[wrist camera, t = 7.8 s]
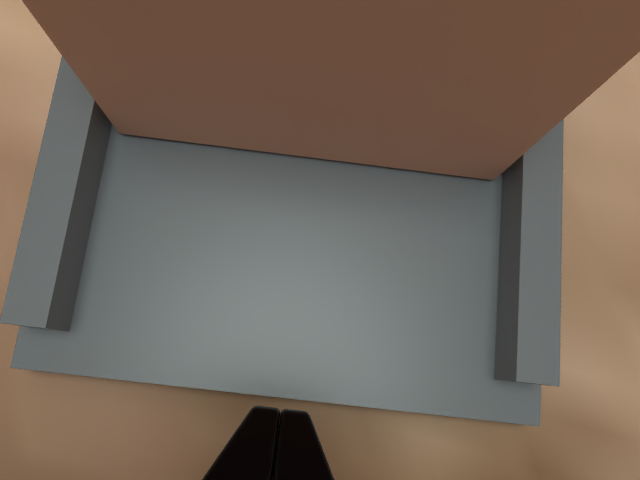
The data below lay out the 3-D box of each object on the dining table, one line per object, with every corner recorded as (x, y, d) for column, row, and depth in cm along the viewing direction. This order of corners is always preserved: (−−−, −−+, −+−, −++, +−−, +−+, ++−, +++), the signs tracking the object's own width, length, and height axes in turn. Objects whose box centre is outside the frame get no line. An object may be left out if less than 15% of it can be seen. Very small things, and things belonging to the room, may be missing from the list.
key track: (523, 422, 15) (567, 433, 13) (28, 367, 14) (-21, 368, 12) (537, -86, 18) (574, -151, 16) (140, -142, 18) (118, -217, 16)
